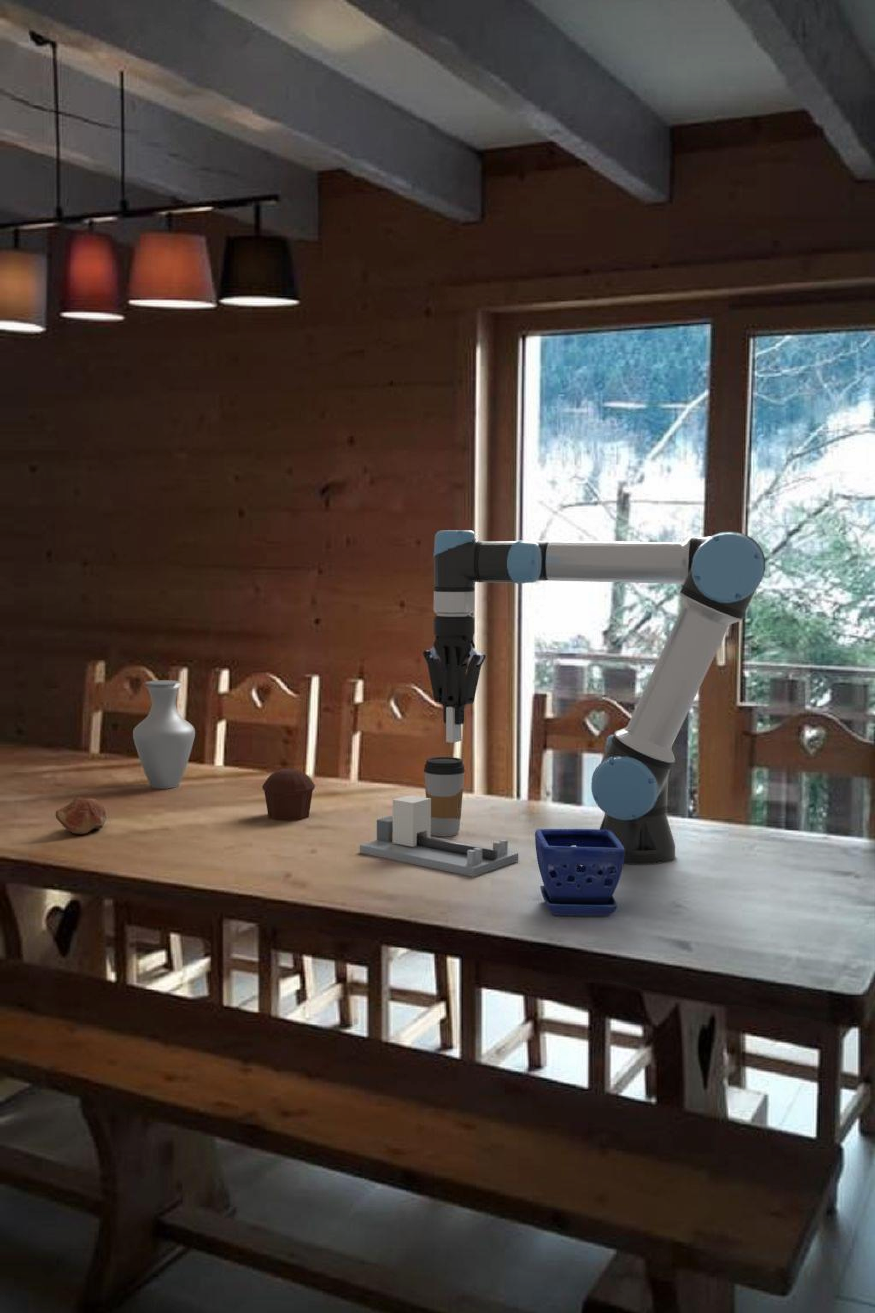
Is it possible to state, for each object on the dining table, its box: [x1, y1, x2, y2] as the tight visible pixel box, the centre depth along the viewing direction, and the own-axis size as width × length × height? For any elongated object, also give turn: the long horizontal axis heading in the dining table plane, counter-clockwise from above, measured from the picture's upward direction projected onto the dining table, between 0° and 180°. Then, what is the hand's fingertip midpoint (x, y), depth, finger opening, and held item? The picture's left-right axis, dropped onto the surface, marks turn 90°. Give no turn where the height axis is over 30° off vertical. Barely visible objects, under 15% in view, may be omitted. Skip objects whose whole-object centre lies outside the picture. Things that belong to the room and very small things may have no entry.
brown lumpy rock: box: [54, 796, 107, 835], centre depth 264 cm, size 13×8×10 cm
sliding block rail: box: [359, 815, 519, 877], centre depth 246 cm, size 27×14×6 cm, turn 52°
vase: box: [132, 679, 196, 790], centre depth 309 cm, size 14×14×25 cm
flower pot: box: [534, 828, 625, 917], centre depth 213 cm, size 13×13×12 cm
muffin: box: [261, 768, 316, 822], centre depth 279 cm, size 12×11×10 cm
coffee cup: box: [423, 756, 466, 837], centre depth 264 cm, size 8×8×15 cm
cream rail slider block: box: [392, 794, 432, 847], centre depth 249 cm, size 5×5×8 cm
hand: (453, 741), depth 242 cm, fingers closed
